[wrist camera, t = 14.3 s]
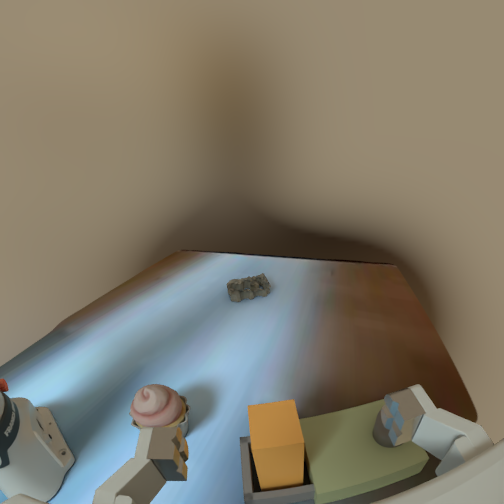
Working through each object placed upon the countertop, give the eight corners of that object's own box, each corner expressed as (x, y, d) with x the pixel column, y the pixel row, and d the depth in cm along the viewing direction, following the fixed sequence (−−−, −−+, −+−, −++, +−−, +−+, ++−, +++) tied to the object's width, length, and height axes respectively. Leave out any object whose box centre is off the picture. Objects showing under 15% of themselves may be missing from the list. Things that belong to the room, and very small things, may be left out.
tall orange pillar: (302, 488, 28) (304, 442, 24) (262, 494, 28) (251, 449, 24) (295, 452, 34) (293, 399, 30) (258, 458, 34) (247, 405, 30)
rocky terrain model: (230, 305, 75) (228, 290, 74) (227, 291, 82) (225, 277, 81) (272, 297, 77) (271, 282, 75) (266, 284, 84) (264, 270, 82)
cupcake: (131, 424, 40) (107, 381, 37) (179, 401, 45) (162, 356, 42) (156, 463, 33) (129, 423, 30) (209, 434, 39) (193, 390, 35)
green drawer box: (419, 472, 26) (436, 445, 24) (247, 514, 25) (239, 495, 23) (389, 412, 37) (398, 381, 35) (242, 442, 37) (234, 414, 34)
